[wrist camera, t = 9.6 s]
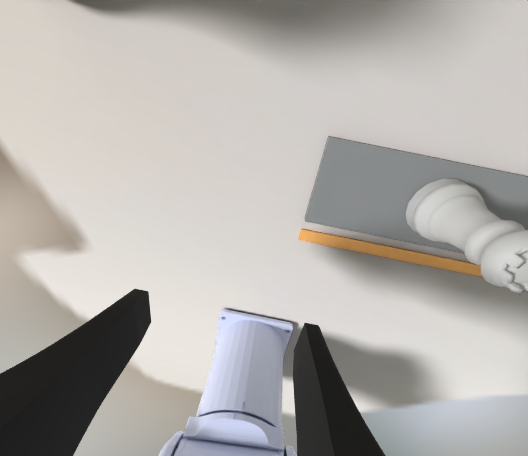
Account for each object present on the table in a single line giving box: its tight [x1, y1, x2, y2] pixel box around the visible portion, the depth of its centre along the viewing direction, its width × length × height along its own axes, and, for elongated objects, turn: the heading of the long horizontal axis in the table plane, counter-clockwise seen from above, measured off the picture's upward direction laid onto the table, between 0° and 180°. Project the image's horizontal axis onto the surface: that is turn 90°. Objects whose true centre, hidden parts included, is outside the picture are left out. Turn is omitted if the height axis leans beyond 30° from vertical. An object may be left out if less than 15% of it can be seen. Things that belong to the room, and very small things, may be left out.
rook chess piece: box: [406, 179, 528, 294], centre depth 13 cm, size 4×4×8 cm
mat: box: [305, 136, 528, 254], centre depth 17 cm, size 6×20×1 cm, turn 80°
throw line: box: [299, 229, 483, 277], centre depth 20 cm, size 1×20×1 cm, turn 80°
